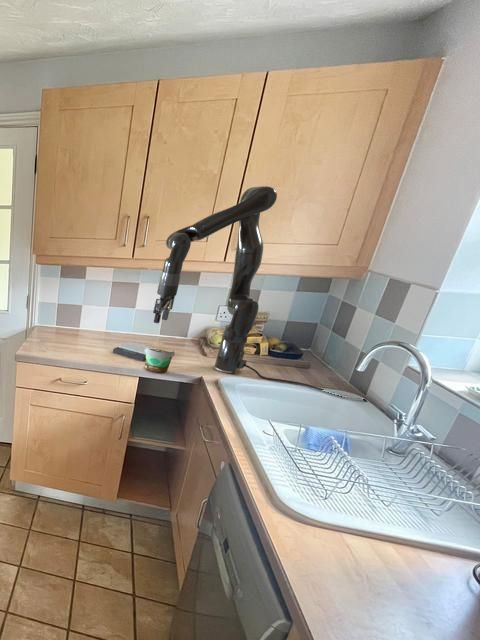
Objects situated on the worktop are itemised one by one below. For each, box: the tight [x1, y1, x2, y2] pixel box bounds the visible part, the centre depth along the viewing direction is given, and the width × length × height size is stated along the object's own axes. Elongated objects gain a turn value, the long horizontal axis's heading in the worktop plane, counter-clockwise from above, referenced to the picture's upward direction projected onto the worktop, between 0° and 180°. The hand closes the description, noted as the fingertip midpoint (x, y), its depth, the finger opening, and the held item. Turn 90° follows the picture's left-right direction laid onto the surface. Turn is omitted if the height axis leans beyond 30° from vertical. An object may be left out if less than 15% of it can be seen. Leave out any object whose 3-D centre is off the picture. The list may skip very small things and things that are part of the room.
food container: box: [144, 347, 176, 374], centre depth 183 cm, size 12×6×10 cm, turn 62°
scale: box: [112, 341, 158, 362], centre depth 206 cm, size 16×16×3 cm
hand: (160, 321), depth 179 cm, fingers open, 8 cm apart
